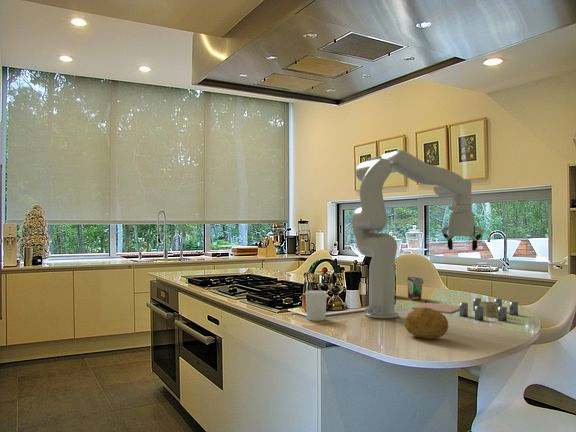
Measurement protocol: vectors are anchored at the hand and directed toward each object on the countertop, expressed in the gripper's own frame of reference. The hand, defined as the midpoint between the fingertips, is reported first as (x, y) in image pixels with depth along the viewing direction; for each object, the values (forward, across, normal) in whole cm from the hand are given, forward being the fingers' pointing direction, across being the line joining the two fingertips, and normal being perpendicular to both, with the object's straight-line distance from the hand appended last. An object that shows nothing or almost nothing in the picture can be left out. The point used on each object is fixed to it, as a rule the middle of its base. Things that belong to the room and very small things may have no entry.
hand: (462, 249), depth 198 cm
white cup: (+24, -36, -57) cm, 71 cm away
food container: (+25, -26, +15) cm, 39 cm away
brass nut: (+25, +12, -8) cm, 29 cm away
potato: (+25, +7, -60) cm, 66 cm away
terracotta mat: (+25, -9, -5) cm, 27 cm away
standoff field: (+25, +12, -8) cm, 29 cm away
